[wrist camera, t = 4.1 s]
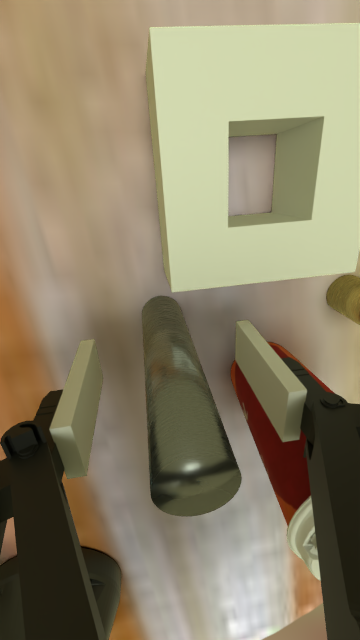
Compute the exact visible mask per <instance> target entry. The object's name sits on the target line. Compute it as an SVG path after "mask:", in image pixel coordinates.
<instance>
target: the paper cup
mask: <svg viewBox="0 0 360 640" xmlns="http://www.w3.org/2000/svg"><path fill="white" fill-rule="evenodd" d="M267 343H268V344H269V345H270V346H271V348H272V349H273V350H274V351H275V352H276V354H277V355H278V356H279V357H280V358H287V357H291V358H292V359H294V360H296V361H298V360H297V359H296V358H295V357H294V356H293V355H292V354H290V353H289V352H288V351H287V350H286V349H284V348H283V347H282V346H280V345H278V344H275V343H271V342H267ZM298 362H299V363H300V364H301V365H302V366H303V367H304V368H305V370H307V371H308V373H309V374H310V375H311V376H312V377H313V378H314V379H315V380H316V381H317V382H318V383H319V384H320V385H321V387H322V388H323V389H324V390H325V391H326V392H331V393H334V392H333V391H331V390H330V389H329V388H328V387H327V386H326V385H325V384H324V383H323V382H322V381H320V380H319V379H318V378H317V377H316V376H315V375H314V374H313V373H312V372H311V371H309V370H308V369H307V368H306V367H305V366H304V365H303V364H302V363H301V362H300V361H298ZM231 380H232V383H233V386H234V389H235V392H236V395H237V397H238V400H239V402H240V405H241V408H242V410H243V413H244V415H245V418H246V421H247V423H248V426H249V428H250V431H251V433H252V436H253V439H254V441H255V444H256V446H257V449H258V451H259V454H260V456H261V459H262V461H263V464H264V467H265V469H266V472H267V474H268V477H269V479H270V482H271V484H272V487H273V489H274V492H275V495H276V497H277V500H278V502H279V505H280V507H281V510H282V512H283V515H284V517H285V520H286V523H287V525H288V529H287V542H288V544H289V546H290V548H291V550H292V551H293V552H294V553H295V554H296V555H297V556H298V557H299V558H301V559H303V560H304V562H305V564H306V565H307V567H308V569H309V570H310V572H311V573H312V574H313V575H314V576H315V577H316V578H317V579H318V580H320V581H321V578H320V570H319V561H318V552H317V543H316V535H315V526H314V517H313V508H312V500H311V491H310V482H309V474H308V465H307V456H306V458H304V457H303V455H304V449H305V443H306V436H305V435H304V433H303V432H302V430H301V432H300V438H299V440H293V441H287V442H282V440H281V438H280V437H279V435H278V433H277V431H276V430H275V428H274V426H273V425H272V423H271V421H270V419H269V418H268V416H267V414H266V412H265V411H264V409H263V407H262V405H261V404H260V402H259V400H258V398H257V397H256V395H255V393H254V391H253V390H252V388H251V386H250V385H249V383H248V381H247V379H246V378H245V376H244V374H243V372H242V371H241V369H240V367H239V365H238V364H237V362H236V360H234V362H233V364H232V367H231Z"/></svg>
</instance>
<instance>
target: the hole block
mask: <svg viewBox="0 0 360 640" xmlns="http://www.w3.org/2000/svg"><path fill="white" fill-rule="evenodd" d="M146 83H147V94H148V105H149V115H150V126H151V136H152V147H153V158H154V168H155V179H156V190H157V200H158V211H159V222H160V232H161V243H162V254H163V264H164V271H165V274H166V277H167V280H168V282H169V285H170V288H171V291H172V292H180V291H189V290H198V289H207V288H216V287H225V286H234V285H243V284H252V283H261V282H270V281H278V280H287V279H296V278H305V277H314V276H323V275H332V274H341V273H350V272H355V270H356V265H357V260H358V255H359V250H360V23H333V24H285V25H236V26H187V27H149V39H148V51H147V62H146ZM270 134H277V138H276V153H275V168H274V183H273V197H272V212H271V213H260V214H249V215H237V216H228V137H236V136H253V135H270Z"/></svg>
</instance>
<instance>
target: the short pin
mask: <svg viewBox="0 0 360 640" xmlns="http://www.w3.org/2000/svg"><path fill="white" fill-rule="evenodd" d="M326 299H327V303H328V305H329V306H330V307H331V308H333V309H335V310H336V311H338V312H339V313H341V314H343V315H344V316H346V317H348V318H349V319H351V320H352V321H354V322H356V323H357V324H359V325H360V278H359V277H356V276H354V275H344V276H341V277H339V278H338V279H336V280H335V281H334V282H333V283H332V284H331V285H330V287H329V289H328V291H327V296H326Z"/></svg>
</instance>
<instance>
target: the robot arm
mask: <svg viewBox="0 0 360 640" xmlns="http://www.w3.org/2000/svg"><path fill="white" fill-rule="evenodd" d="M235 360H236V362H237V364H238V365H239V367H240V369H241V371H242V372H243V374H244V376H245V378H246V379H247V381H248V383H249V385H250V386H251V388H252V390H253V391H254V393H255V395H256V397H257V398H258V400H259V402H260V404H261V405H262V407H263V409H264V411H265V412H266V414H267V416H268V418H269V419H270V421H271V423H272V425H273V426H274V428H275V430H276V431H277V433H278V435H279V437H280V438H281V440H282V442H287V441H293V440H299V438H300V432H301V430H302V432H303V433H304V435H305V436H306V443H305V449H304V455H303V457H304V458H306V456H307V465H308V474H309V482H310V491H311V500H312V508H313V517H314V526H315V535H316V543H317V552H318V561H319V570H320V578H321V587H322V596H323V604H324V613H325V621H326V631H327V639H328V640H360V404H351V403H347V401H346V400H345V399H344V398H342V397H341V396H339V395H337V394H335V393H331V392H326V391H325V390H324V389H323V388H322V387H321V385H320V384H319V383H318V382H317V381H316V380H315V379H314V378H313V377H312V376H311V375H310V374H309V373H308V371H307V370H305V368H304V367H303V366H302V365H301V364H300V363H299V362H298V361H296V360H294V359H292V358H291V357H287V358H280V357H279V356H278V355H277V354H276V352H275V351H274V350H273V349H272V348H271V346H270V345H269V344H268V343H267V342H266V340H265V339H264V338H263V337H262V336H261V335H260V333H259V332H258V331H257V330H256V329H255V327H254V326H253V325H252V324H251V323H250V322H249V320H244V321H236V345H235ZM102 382H103V375H102V370H101V366H100V362H99V357H98V353H97V348H96V344H95V339H92V340H84V341H81V342H80V345H79V347H78V350H77V353H76V356H75V359H74V361H73V364H72V367H71V370H70V373H69V375H68V378H67V381H66V384H65V387H64V390H57V391H50V392H49V393H48V394H47V395H46V396H45V397H44V398H43V400H42V402H41V404H40V406H39V409H38V411H37V413H36V416H35V418H34V420H33V421H25V422H21V423H18V424H17V425H15V426H13V427H11V428H10V429H9V430H8V431H6V432H5V434H4V435H3V436H2V438H1V442H0V444H1V446H2V448H3V450H4V452H5V454H6V457H7V458H6V459H4V460H2V461H0V553H1V548H2V543H3V538H4V533H5V528H6V523H7V519H10V518H12V517H14V526H15V537H16V547H17V557H15V558H13V559H11V560H9V561H7V562H6V563H4V564H3V565H2V566H0V640H109V637H110V633H111V630H112V626H113V623H114V619H115V615H116V612H117V608H118V605H119V600H120V591H121V571H120V568H119V566H118V565H117V563H116V562H115V561H114V560H112V559H111V558H110V557H108V556H106V555H104V554H102V553H100V552H97V551H94V550H90V549H85V548H81V546H80V543H79V539H78V536H77V532H76V529H75V525H74V521H73V518H72V514H71V511H70V507H69V504H68V500H67V497H66V493H65V489H64V486H63V483H62V481H61V480H62V476H63V473H64V471H65V474H66V477H67V479H70V478H76V477H82V476H87V470H88V464H89V458H90V453H91V447H92V441H93V435H94V429H95V423H96V417H97V411H98V406H99V400H100V394H101V388H102Z"/></svg>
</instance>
